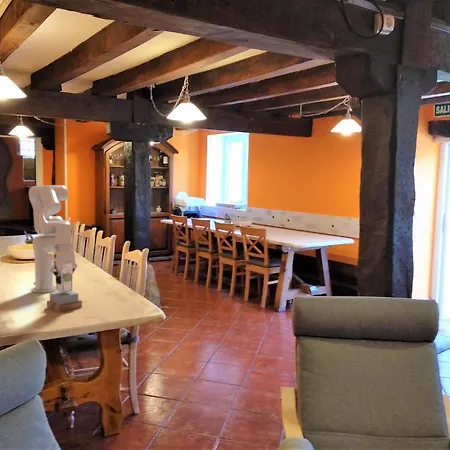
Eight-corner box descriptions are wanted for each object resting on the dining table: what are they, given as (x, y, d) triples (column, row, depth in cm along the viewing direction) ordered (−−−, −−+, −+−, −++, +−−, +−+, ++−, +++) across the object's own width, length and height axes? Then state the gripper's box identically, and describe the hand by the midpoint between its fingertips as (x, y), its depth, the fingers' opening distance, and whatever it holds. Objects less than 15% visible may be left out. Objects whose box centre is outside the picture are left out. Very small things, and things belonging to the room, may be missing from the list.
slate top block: (50, 300, 236) (49, 293, 236) (68, 297, 244) (68, 289, 243) (59, 304, 230) (59, 296, 229) (78, 301, 237) (78, 293, 236)
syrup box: (66, 288, 240) (65, 260, 238) (72, 290, 236) (72, 262, 234) (56, 290, 235) (55, 262, 234) (62, 292, 232) (62, 264, 230)
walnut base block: (47, 308, 236) (46, 301, 235) (67, 303, 246) (67, 296, 245) (61, 313, 229) (61, 305, 228) (81, 308, 238) (81, 300, 238)
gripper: (52, 250, 224) (53, 287, 226) (82, 246, 238) (83, 280, 240) (43, 248, 228) (44, 284, 231) (73, 244, 242) (74, 278, 244)
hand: (64, 282), depth 235 cm, fingers closed on syrup box, 5 cm apart
